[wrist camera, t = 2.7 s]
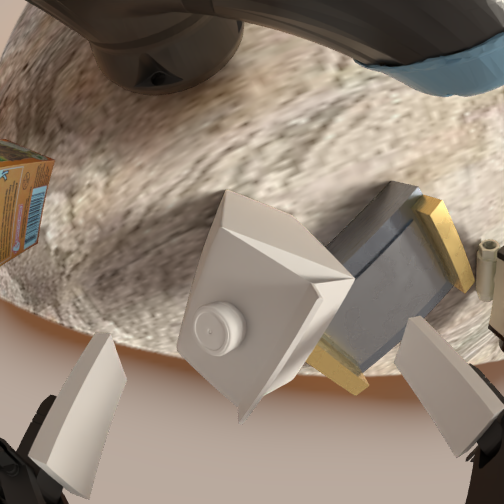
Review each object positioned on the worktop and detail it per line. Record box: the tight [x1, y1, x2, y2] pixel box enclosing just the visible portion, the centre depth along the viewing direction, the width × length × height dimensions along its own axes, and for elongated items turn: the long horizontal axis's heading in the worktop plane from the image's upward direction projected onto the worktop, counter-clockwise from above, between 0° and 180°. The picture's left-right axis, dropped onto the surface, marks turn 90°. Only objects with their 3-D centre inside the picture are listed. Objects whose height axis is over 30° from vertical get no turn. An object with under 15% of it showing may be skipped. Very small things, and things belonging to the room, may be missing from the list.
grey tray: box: [305, 181, 475, 396], centre depth 27 cm, size 18×19×8 cm
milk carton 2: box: [177, 189, 355, 424], centre depth 18 cm, size 7×7×19 cm
